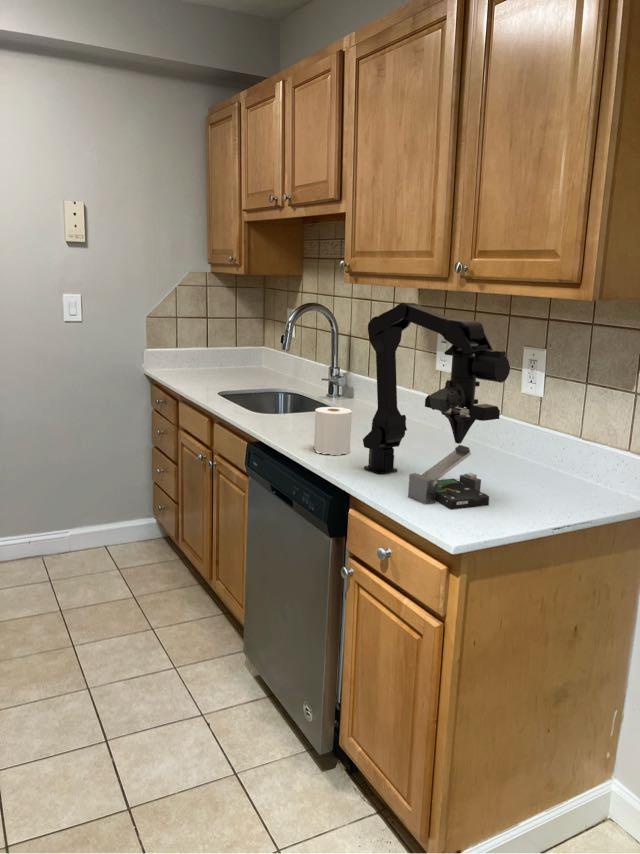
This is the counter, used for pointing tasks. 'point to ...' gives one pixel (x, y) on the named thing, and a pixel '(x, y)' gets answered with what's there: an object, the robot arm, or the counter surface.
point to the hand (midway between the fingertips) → (458, 443)
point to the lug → (471, 480)
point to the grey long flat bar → (448, 463)
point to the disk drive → (459, 495)
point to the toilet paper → (332, 430)
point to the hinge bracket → (422, 488)
